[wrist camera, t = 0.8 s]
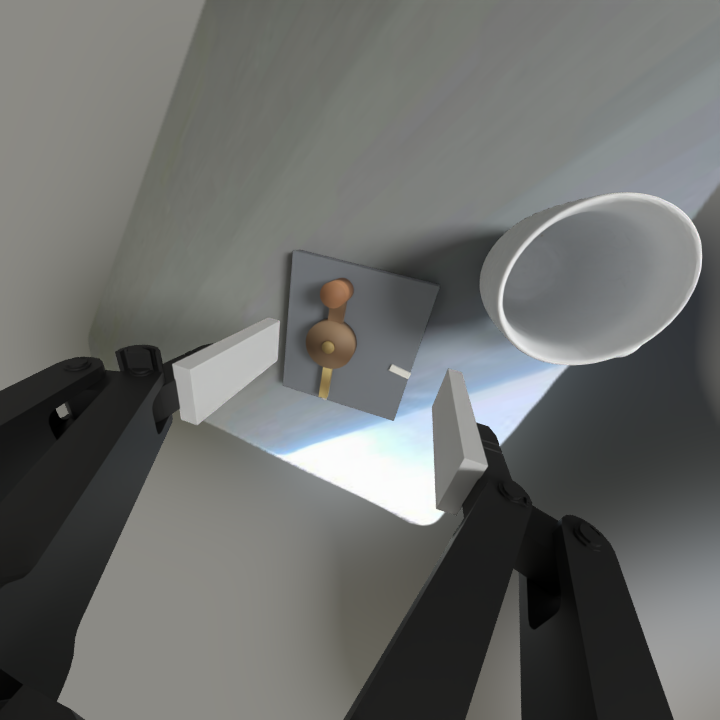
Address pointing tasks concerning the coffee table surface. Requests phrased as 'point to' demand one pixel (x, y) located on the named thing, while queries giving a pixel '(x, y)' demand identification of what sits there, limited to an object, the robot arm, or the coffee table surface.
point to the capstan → (332, 333)
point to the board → (358, 331)
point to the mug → (591, 277)
